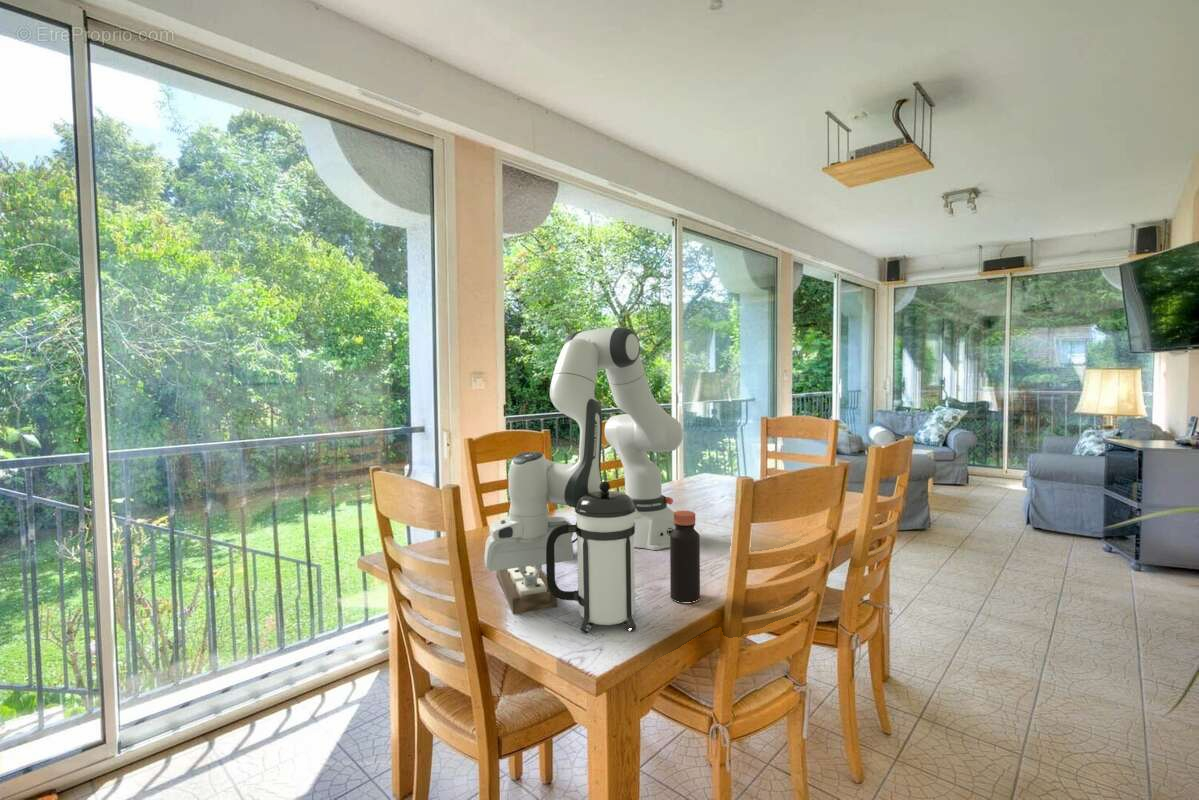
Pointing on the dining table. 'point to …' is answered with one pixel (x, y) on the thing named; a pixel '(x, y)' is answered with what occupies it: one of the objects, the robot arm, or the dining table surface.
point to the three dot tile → (517, 576)
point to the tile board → (525, 601)
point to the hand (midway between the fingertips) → (530, 583)
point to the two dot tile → (530, 588)
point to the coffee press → (601, 558)
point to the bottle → (685, 558)
